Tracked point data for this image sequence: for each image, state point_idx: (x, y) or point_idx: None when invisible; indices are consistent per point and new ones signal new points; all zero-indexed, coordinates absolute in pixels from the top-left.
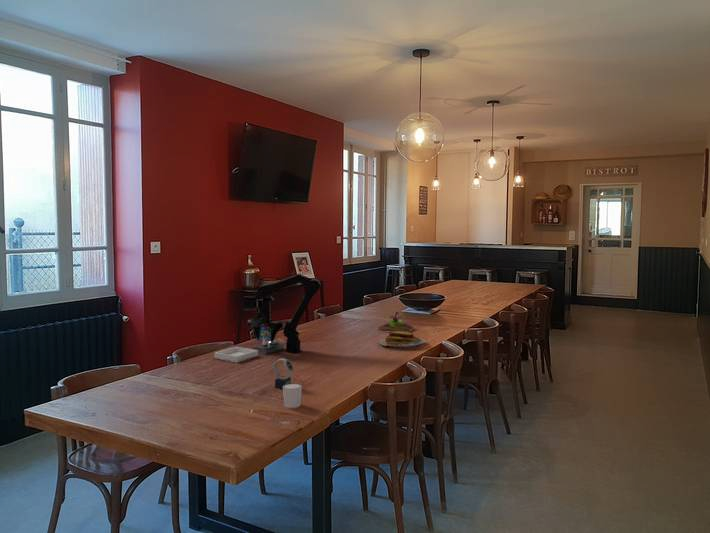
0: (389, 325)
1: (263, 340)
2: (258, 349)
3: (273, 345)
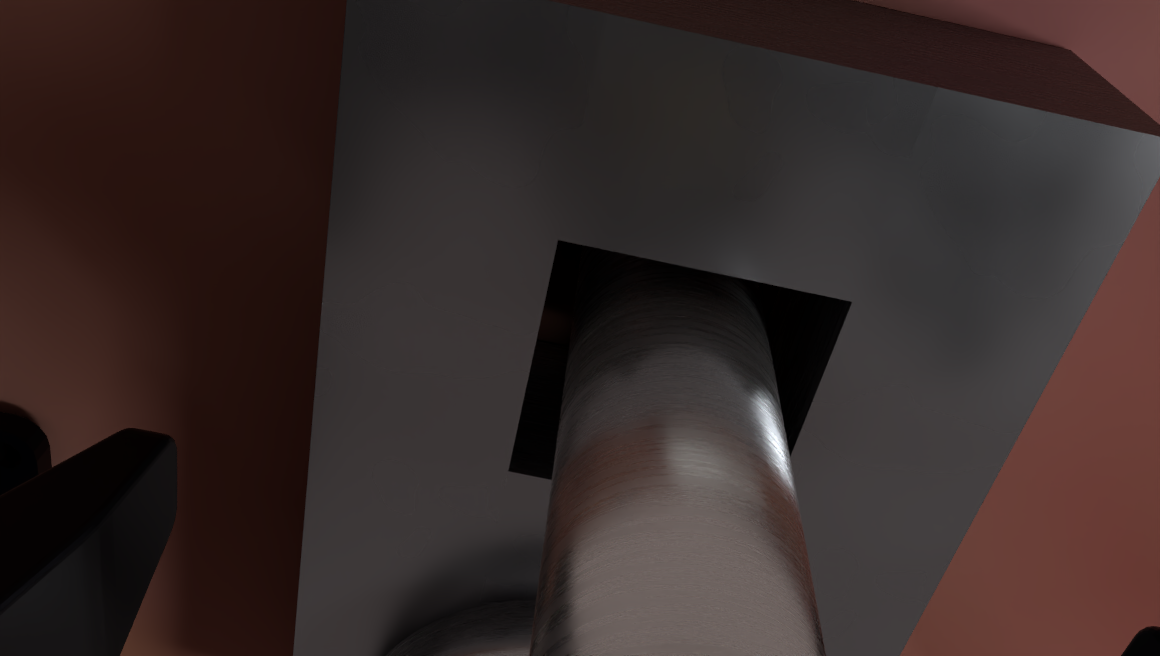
0: None
1: (685, 487)
2: (827, 38)
3: (381, 543)
